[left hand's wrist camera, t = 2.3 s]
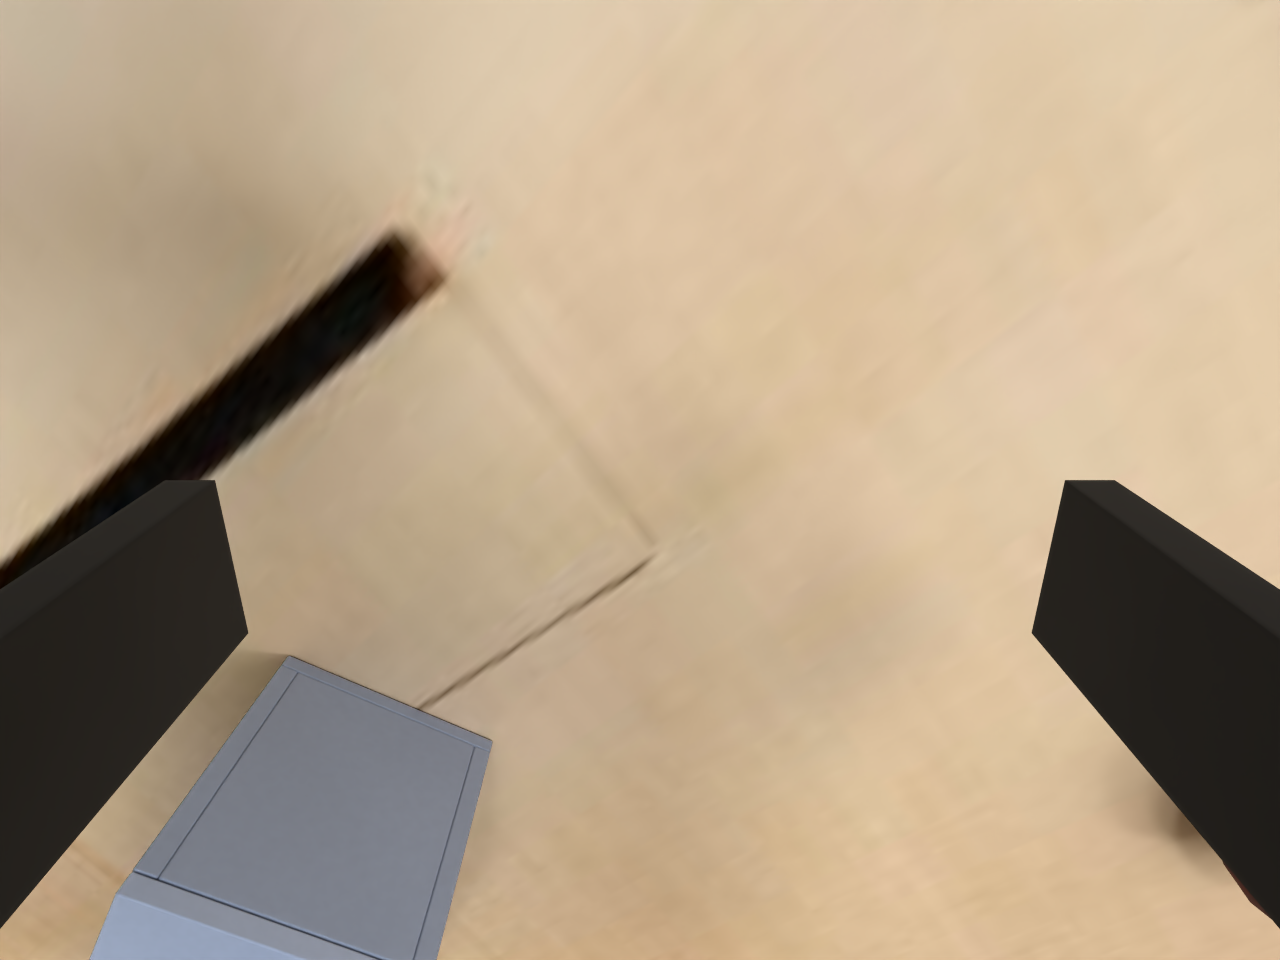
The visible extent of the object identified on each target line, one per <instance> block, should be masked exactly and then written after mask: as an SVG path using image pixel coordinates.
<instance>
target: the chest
mask: <svg viewBox="0 0 1280 960" xmlns="http://www.w3.org/2000/svg"><path fill="white" fill-rule="evenodd" d="M491 746H492V741H491V740H488V739H486V738H484V737H481V736H479V735H476V734H474V733H472V732H469V731H467V730H465V729H462V728H460V727H457V726H455V725H453V724H450V723H448V722H446V721H443V720H441V719H438V718H436V717H434V716H431V715H429V714H427V713H424V712H422V711H419V710H417V709H415V708H412V707H410V706H408V705H405V704H403V703H400V702H398V701H396V700H393V699H391V698H389V697H386V696H384V695H381V694H379V693H377V692H374V691H372V690H370V689H367V688H365V687H363V686H360V685H358V684H355V683H353V682H351V681H348V680H346V679H344V678H341V677H339V676H336V675H334V674H332V673H329V672H327V671H325V670H322V669H320V668H317V667H315V666H313V665H310V664H308V663H306V662H303V661H301V660H298V659H296V658H294V657H291V656H288V657H287V658H286V659H285V661H284V662H283V663H282V665H281V666H280V667H279V669H278V670H277V672H276V673H275V674H274V676H273V677H272V678H271V680H270V681H269V683H268V684H267V685H266V687H265V688H264V690H263V691H262V692H261V694H260V695H259V696H258V698H257V699H256V701H255V702H254V703H253V705H252V706H251V707H250V709H249V710H248V712H247V713H246V714H245V716H244V717H243V718H242V720H241V721H240V723H239V724H238V725H237V727H236V728H235V730H234V731H233V732H232V734H231V735H230V736H229V738H228V739H227V741H226V742H225V743H224V745H223V746H222V747H221V749H220V750H219V752H218V753H217V754H216V756H215V757H214V758H213V760H212V761H211V763H210V764H209V765H208V767H207V768H206V770H205V771H204V772H203V774H202V775H201V776H200V778H199V779H198V781H197V782H196V783H195V785H194V786H193V787H192V789H191V790H190V792H189V793H188V794H187V796H186V797H185V798H184V800H183V801H182V803H181V804H180V805H179V807H178V808H177V810H176V811H175V812H174V814H173V815H172V816H171V818H170V819H169V821H168V822H167V823H166V825H165V826H164V827H163V829H162V830H161V832H160V833H159V834H158V836H157V837H156V838H155V840H154V841H153V843H152V844H151V845H150V847H149V848H148V850H147V851H146V852H145V854H144V855H143V856H142V858H141V859H140V861H139V862H138V863H137V865H136V866H135V867H134V869H133V872H134V873H137V874H140V875H143V876H145V877H148V878H151V879H154V880H157V881H159V882H162V883H165V884H168V885H171V886H173V887H176V888H179V889H182V890H185V891H187V892H190V893H193V894H196V895H199V896H201V897H204V898H207V899H210V900H213V901H215V902H218V903H221V904H224V905H227V906H229V907H232V908H235V909H238V910H241V911H243V912H246V913H249V914H252V915H255V916H257V917H260V918H263V919H266V920H269V921H271V922H274V923H277V924H280V925H283V926H285V927H288V928H291V929H294V930H297V931H299V932H302V933H305V934H308V935H311V936H313V937H316V938H319V939H322V940H325V941H327V942H330V943H333V944H336V945H339V946H341V947H344V948H347V949H350V950H353V951H355V952H358V953H361V954H364V955H366V956H369V957H372V958H375V959H378V960H437V956H438V952H439V948H440V944H441V940H442V936H443V932H444V929H445V925H446V921H447V917H448V913H449V909H450V905H451V901H452V898H453V894H454V890H455V886H456V882H457V878H458V874H459V870H460V867H461V863H462V859H463V855H464V851H465V847H466V843H467V839H468V836H469V832H470V828H471V824H472V820H473V816H474V812H475V808H476V805H477V801H478V797H479V793H480V789H481V785H482V781H483V777H484V774H485V770H486V766H487V762H488V758H489V753H490V750H491Z"/></svg>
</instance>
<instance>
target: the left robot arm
mask: <svg viewBox="0 0 1280 960" xmlns="http://www.w3.org/2000/svg"><path fill="white" fill-rule="evenodd" d="M247 634H248V629H247V625H246V620H245V616H244V611H243V607H242V602H241V597H240V593H239V588H238V584H237V579H236V575H235V570H234V565H233V561H232V556H231V552H230V547H229V542H228V538H227V533H226V529H225V524H224V520H223V515H222V510H221V506H220V501H219V497H218V492H217V488H216V483H215V480H165V481H164V482H162V483H161V484H159V485H157V486H156V487H154V488H153V489H151V490H150V491H148V492H147V493H145V494H144V495H142V496H141V497H139V498H138V499H136V500H135V501H133V502H132V503H130V504H129V505H127V506H126V507H124V508H123V509H121V510H120V511H118V512H117V513H115V514H114V515H112V516H111V517H109V518H108V519H106V520H105V521H103V522H102V523H100V524H99V525H97V526H96V527H94V528H93V529H91V530H90V531H88V532H87V533H85V534H83V535H82V536H80V537H79V538H77V539H76V540H74V541H73V542H71V543H70V544H68V545H67V546H65V547H64V548H62V549H61V550H59V551H58V552H56V553H55V554H53V555H52V556H50V557H49V558H47V559H46V560H44V561H43V562H41V563H40V564H38V565H37V566H35V567H34V568H32V569H31V570H29V571H28V572H26V573H25V574H23V575H22V576H20V577H19V578H17V579H16V580H14V581H13V582H11V583H9V584H8V585H6V586H5V587H3V588H2V589H0V928H1V927H2V926H3V925H4V924H5V922H6V921H7V920H8V919H9V918H10V916H11V915H12V914H13V913H14V912H15V911H16V909H17V908H18V907H19V906H20V905H21V903H22V902H23V901H24V900H25V899H26V897H27V896H28V895H29V894H30V893H31V891H32V890H33V889H34V888H35V887H36V885H37V884H38V883H39V882H40V881H41V880H42V878H43V877H44V876H45V875H46V874H47V872H48V871H49V870H50V869H51V868H52V866H53V865H54V864H55V863H56V862H57V860H58V859H59V858H60V857H61V856H62V854H63V853H64V852H65V851H66V850H67V849H68V847H69V846H70V845H71V844H72V843H73V841H74V840H75V839H76V838H77V837H78V835H79V834H80V833H81V832H82V831H83V829H84V828H85V827H86V826H87V825H88V823H89V822H90V821H91V820H92V819H93V818H94V816H95V815H96V814H97V813H98V812H99V810H100V809H101V808H102V807H103V806H104V804H105V803H106V802H107V801H108V800H109V798H110V797H111V796H112V795H113V794H114V792H115V791H116V790H117V789H118V788H119V787H120V785H121V784H122V783H123V782H124V781H125V779H126V778H127V777H128V776H129V775H130V773H131V772H132V771H133V770H134V769H135V767H136V766H137V765H138V764H139V763H140V761H141V760H142V759H143V758H144V757H145V756H146V754H147V753H148V752H149V751H150V750H151V748H152V747H153V746H154V745H155V744H156V742H157V741H158V740H159V739H160V738H161V736H162V735H163V734H164V733H165V732H166V731H167V729H168V728H169V727H170V726H171V725H172V723H173V722H174V721H175V720H176V719H177V717H178V716H179V715H180V714H181V713H182V711H183V710H184V709H185V708H186V707H187V705H188V704H189V703H190V702H191V701H192V700H193V698H194V697H195V696H196V695H197V694H198V692H199V691H200V690H201V689H202V688H203V686H204V685H205V684H206V683H207V682H208V680H209V679H210V678H211V677H212V676H213V674H214V673H215V672H216V671H217V670H218V669H219V667H220V666H221V665H222V664H223V663H224V661H225V660H226V659H227V658H228V657H229V655H230V654H231V653H232V652H233V651H234V649H235V648H236V647H237V646H238V645H239V643H240V642H241V641H242V640H243V639H244V638H245V636H246V635H247ZM1032 634H1033V635H1034V636H1035V638H1036V639H1037V640H1038V641H1039V642H1040V643H1041V645H1042V646H1043V647H1044V648H1045V649H1046V651H1047V652H1048V653H1049V654H1050V655H1051V657H1052V658H1053V659H1054V660H1055V661H1056V663H1057V664H1058V665H1059V666H1060V667H1061V669H1062V670H1063V671H1064V672H1065V673H1066V674H1067V676H1068V677H1069V678H1070V679H1071V680H1072V682H1073V683H1074V684H1075V685H1076V686H1077V688H1078V689H1079V690H1080V691H1081V692H1082V694H1083V695H1084V696H1085V697H1086V698H1087V700H1088V701H1089V702H1090V703H1091V704H1092V705H1093V707H1094V708H1095V709H1096V710H1097V711H1098V713H1099V714H1100V715H1101V716H1102V717H1103V719H1104V720H1105V721H1106V722H1107V723H1108V725H1109V726H1110V727H1111V728H1112V729H1113V731H1114V732H1115V733H1116V734H1117V735H1118V736H1119V738H1120V739H1121V740H1122V741H1123V742H1124V744H1125V745H1126V746H1127V747H1128V748H1129V750H1130V751H1131V752H1132V753H1133V754H1134V756H1135V757H1136V758H1137V759H1138V760H1139V762H1140V763H1141V764H1142V765H1143V766H1144V767H1145V769H1146V770H1147V771H1148V772H1149V773H1150V775H1151V776H1152V777H1153V778H1154V779H1155V781H1156V782H1157V783H1158V784H1159V785H1160V787H1161V788H1162V789H1163V790H1164V791H1165V793H1166V794H1167V795H1168V796H1169V797H1170V798H1171V800H1172V801H1173V802H1174V803H1175V804H1176V806H1177V807H1178V808H1179V809H1180V810H1181V812H1182V813H1183V814H1184V815H1185V816H1186V818H1187V819H1188V820H1189V821H1190V822H1191V823H1192V825H1193V826H1194V827H1195V828H1196V829H1197V831H1198V832H1199V833H1200V834H1201V835H1202V837H1203V838H1204V839H1205V840H1206V841H1207V843H1208V844H1209V845H1210V846H1211V847H1212V849H1213V850H1214V851H1215V852H1216V853H1217V854H1218V856H1219V857H1220V858H1221V859H1222V860H1223V862H1224V863H1225V864H1226V865H1227V866H1228V868H1229V869H1230V870H1231V871H1232V872H1233V874H1234V875H1235V876H1236V877H1237V878H1238V880H1239V881H1240V882H1241V883H1242V884H1243V885H1244V887H1245V888H1246V889H1247V890H1248V891H1249V893H1250V894H1251V895H1252V896H1253V897H1254V899H1255V900H1256V901H1257V902H1258V903H1259V905H1260V906H1261V907H1262V908H1263V909H1264V911H1265V912H1266V913H1267V914H1268V915H1269V916H1270V918H1271V919H1272V920H1273V921H1274V922H1275V924H1276V925H1277V926H1278V927H1279V928H1280V589H1278V588H1277V587H1275V586H1274V585H1272V584H1270V583H1269V582H1267V581H1266V580H1264V579H1263V578H1261V577H1260V576H1258V575H1257V574H1255V573H1254V572H1252V571H1251V570H1249V569H1248V568H1246V567H1245V566H1243V565H1242V564H1240V563H1239V562H1237V561H1236V560H1234V559H1233V558H1231V557H1230V556H1228V555H1227V554H1225V553H1224V552H1222V551H1221V550H1219V549H1218V548H1216V547H1215V546H1213V545H1212V544H1210V543H1209V542H1207V541H1206V540H1204V539H1203V538H1201V537H1200V536H1198V535H1197V534H1195V533H1193V532H1192V531H1190V530H1189V529H1187V528H1186V527H1184V526H1183V525H1181V524H1180V523H1178V522H1177V521H1175V520H1174V519H1172V518H1171V517H1169V516H1168V515H1166V514H1165V513H1163V512H1162V511H1160V510H1159V509H1157V508H1156V507H1154V506H1153V505H1151V504H1150V503H1148V502H1147V501H1145V500H1144V499H1142V498H1141V497H1139V496H1138V495H1136V494H1135V493H1133V492H1132V491H1130V490H1129V489H1127V488H1126V487H1124V486H1123V485H1121V484H1119V483H1118V482H1116V481H1115V480H1065V483H1064V488H1063V492H1062V497H1061V501H1060V506H1059V510H1058V515H1057V520H1056V524H1055V529H1054V533H1053V538H1052V542H1051V547H1050V552H1049V556H1048V561H1047V565H1046V570H1045V574H1044V579H1043V584H1042V588H1041V593H1040V597H1039V602H1038V607H1037V611H1036V616H1035V620H1034V625H1033V629H1032Z"/></svg>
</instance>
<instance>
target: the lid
mask: <svg viewBox="0 0 1280 960" xmlns="http://www.w3.org/2000/svg"><path fill="white" fill-rule="evenodd" d="M89 960H378V959H375V958H372V957H369V956H366V955H364V954H361V953H358V952H355V951H353V950H350V949H347V948H344V947H341V946H339V945H336V944H333V943H330V942H327V941H325V940H322V939H319V938H316V937H313V936H311V935H308V934H305V933H302V932H299V931H297V930H294V929H291V928H288V927H285V926H283V925H280V924H277V923H274V922H271V921H269V920H266V919H263V918H260V917H257V916H255V915H252V914H249V913H246V912H243V911H241V910H238V909H235V908H232V907H229V906H227V905H224V904H221V903H218V902H215V901H213V900H210V899H207V898H204V897H201V896H199V895H196V894H193V893H190V892H187V891H185V890H182V889H179V888H176V887H173V886H171V885H168V884H165V883H162V882H159V881H157V880H154V879H151V878H148V877H145V876H143V875H140V874H137V873H134V872H132V873H131V874H130V875H129V876H128V877H127V879H126V880H125V881H124V883H123V884H122V886H121V887H120V888H119V890H118V891H117V892H116V894H115V897H114V899H113V902H112V904H111V907H110V909H109V912H108V914H107V917H106V919H105V922H104V924H103V927H102V929H101V932H100V934H99V936H98V939H97V941H96V944H95V946H94V949H93V951H92V954H91V956H90V959H89Z"/></svg>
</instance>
